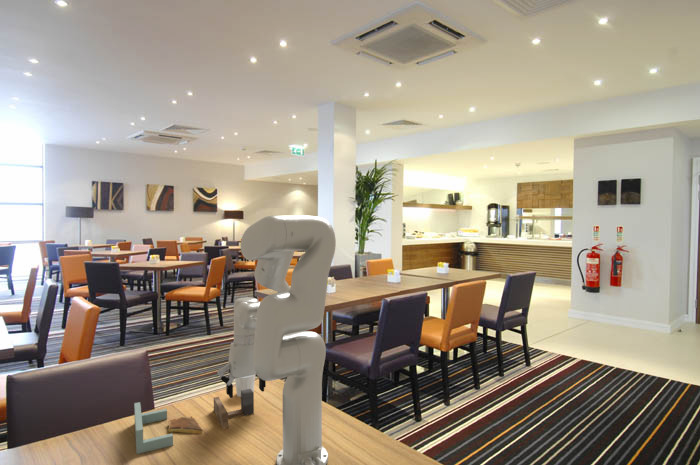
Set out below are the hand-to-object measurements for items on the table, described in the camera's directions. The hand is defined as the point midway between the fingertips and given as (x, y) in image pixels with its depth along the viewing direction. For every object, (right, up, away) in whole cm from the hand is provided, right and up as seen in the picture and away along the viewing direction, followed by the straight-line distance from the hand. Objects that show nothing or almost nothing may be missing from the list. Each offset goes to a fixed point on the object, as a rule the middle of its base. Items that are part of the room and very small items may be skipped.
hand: (246, 393), depth 127 cm
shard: (-14, -7, -9) cm, 18 cm away
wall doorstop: (-3, -6, -2) cm, 7 cm away
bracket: (-22, -6, -13) cm, 27 cm away
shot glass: (-4, -6, +13) cm, 15 cm away
